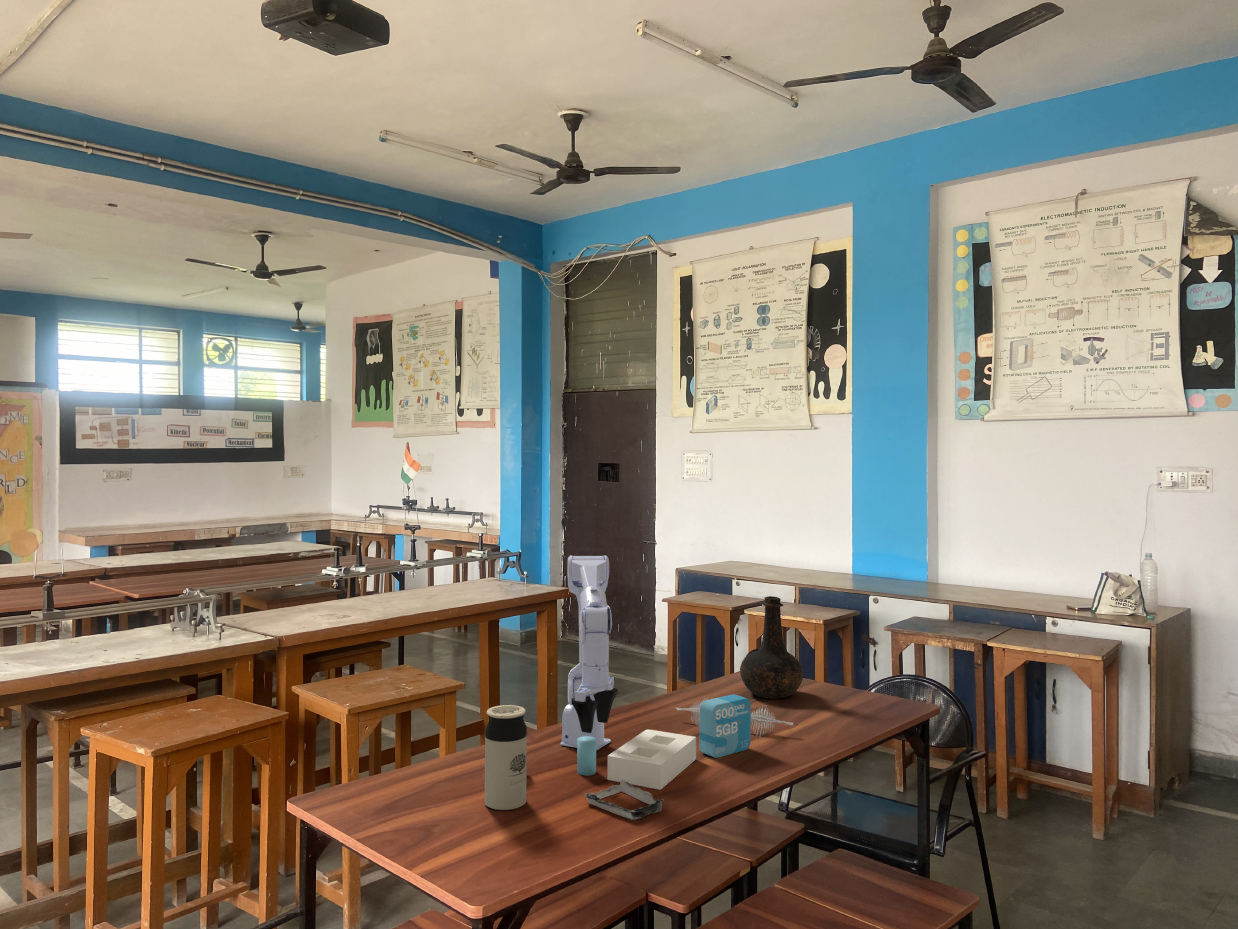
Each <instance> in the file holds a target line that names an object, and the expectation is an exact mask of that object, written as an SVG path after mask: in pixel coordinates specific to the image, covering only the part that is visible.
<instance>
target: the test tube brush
mask: <svg viewBox="0 0 1238 929" xmlns="http://www.w3.org/2000/svg"><path fill="white" fill-rule="evenodd" d="M704 699H706V700H709V698H706V696H705V697H704ZM704 699H702V700H700V701H699V700H698V701H695V703H693V704H692V707H691V705H690V706H689V708H686V707H683V708H682V707H675V709H676V710H677V711H683V712H684V711H689V712H692V714H691V716H690V717H691V718H690V720H691V721H692V723H694V721H695V726H696V727H697V728H700V705H701V703H702V702H703V701H704ZM763 708H765V709H764V710H763ZM766 709H767V706H765V707H764V706H762V708H761V705H760V706H759V708H757V709H756V708H755V709H753V710H752V711H751V725H753V727H751V730H752V728H753V730H752V732H754V733H756V736H758V733H759V731H757V730H760V733H759V736H761V734H764V733H765V734H766V733H767V731H770V730H771V729H772V730H771V731H773V729H774V728H775V727H776V726H775V723H779V724H783V725H784V724H785V725H789V726H794V722H789V721H785V720H784V721H782V720H778V719H776V716H774V714H775V713H773V712H771V713H770V711H771V710H769V709H767V710H766ZM692 715H693V716H692ZM697 725H698V726H697ZM766 729H767V731H765V730H766ZM762 730H763V732H762ZM756 731H757V732H756ZM765 734H764V735H765Z"/></svg>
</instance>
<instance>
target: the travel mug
mask: <svg viewBox="0 0 1238 929" xmlns="http://www.w3.org/2000/svg"><path fill="white" fill-rule="evenodd" d="M526 711H527V710H526V709H525V708H524V707H523V706H519V705H515V704H508V705H507V704H504V705H503V704H502V705H495V706H492V707H489V708H488V709H487V710H486V715H488V716H487V717H488V721H487V724H486V725H485V727H484V728H485V729H484V730H485V731H484V804H485V806H486V807H488V808H491V809H492V810H496V811H513V810H516V809H519V808H521V807H522V806H524V805H525V804H526V802H527V764H528V763H527V756H528V755H527V754H528V752H527V748H528V747H527V739H528V738H527V737H528V736H527V735H528V732H527V731H528V726H527V724H526V722H525V720H524V716H525V714H526Z"/></svg>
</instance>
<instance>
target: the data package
mask: <svg viewBox="0 0 1238 929" xmlns="http://www.w3.org/2000/svg"><path fill="white" fill-rule="evenodd" d="M751 703H752V702H751V700H750V699H749V698H746V697H744V696H741V695H738V694H733V693H732V694H728V695H724V696H720V697H719V696H718V697H716V698H710V699H709V698H708V700H707V699H704V700H703V701H701V702H700V704H701V705H700V706H699V708H700V709H699V710H700V714H699V716H700V717H699V718H700V719H699V721H700V724H699V751H700V752H701V753H703V754H705V755H707V756H710V757H712V758H714V759H719V758H723V757H726V756H729V755H733V754H736V753H741V752H744V751H747V750H748V749H749V748H750V745H751V734H752V732H751V731H752V729H751V728H752V720H751V719H752V718H751V715H752V708H751V706H752V704H751Z"/></svg>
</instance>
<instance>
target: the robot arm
mask: <svg viewBox="0 0 1238 929" xmlns="http://www.w3.org/2000/svg"><path fill="white" fill-rule="evenodd" d="M566 569H567V571H566V572H567V587H568V592H569V593H571V594H574V595H575V596H576V600H577V604H578V641H579V642H578V644H579V649H578V650H579V652H578V653H579V656H578V657H579V663H578V664H576V665H575V666H574V667H573V668H571V669H570V671H569V673H568V676H567V679H568V680H567V705H565V707H564V709H563V711H562V717H561V731H562V732H561V742H560V744H559V745H560V746H565V747H569V748H570V747H571V748H576V749H577V739H578V738H579V737H583V736H591V737H594V738H596V752H597V751H599V750H600V749H601V748H603V747H604V746H605V745H606V746H607V745H608V744H609V743H611V742H612V740H611V739H610V738H605V724H608V722H609V718H610V714H611V710H612V706H613V703H614V702H615V701H614V700H615V698H616V696H617V695H618V693H619V692H618V690H619V689H618V688H616V687H614V686H615V678H614V676H610V672H609V671H610V669H609V665H610V664H609V662H610V661H609V660H610V634H611V632H612V625H613V624H612V623H613V619H612V617H613V616H612V611H611V606H609V605H608V603H607V598H606V597H607V596H606V591H607V588H608V583H609V579H610V578H609V577H610V560H609V557H608V556H607V555H578V556H577V555H569V556H568V557H567V566H566Z"/></svg>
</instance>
